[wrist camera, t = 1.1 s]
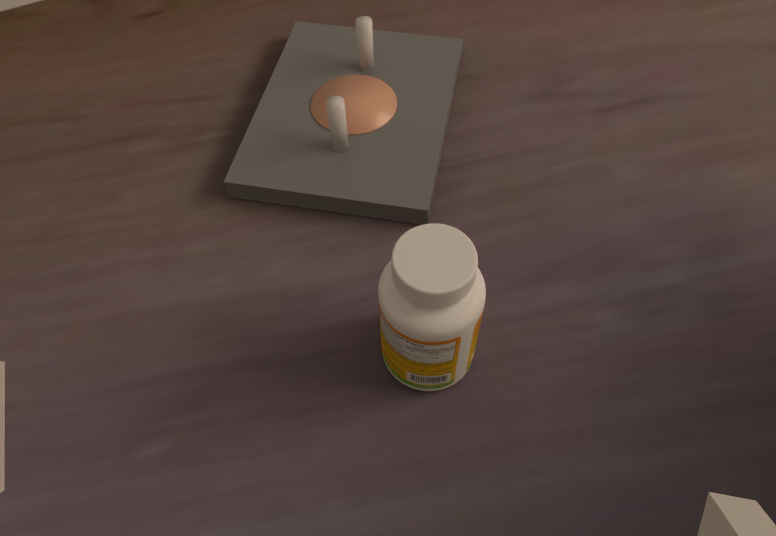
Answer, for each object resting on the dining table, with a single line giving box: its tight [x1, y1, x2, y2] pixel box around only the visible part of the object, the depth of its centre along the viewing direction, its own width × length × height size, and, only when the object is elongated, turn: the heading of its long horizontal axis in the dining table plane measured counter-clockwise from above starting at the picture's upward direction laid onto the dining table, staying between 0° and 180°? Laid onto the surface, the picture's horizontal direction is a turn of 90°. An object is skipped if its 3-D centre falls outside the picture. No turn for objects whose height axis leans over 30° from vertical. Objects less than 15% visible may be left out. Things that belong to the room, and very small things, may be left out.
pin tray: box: [224, 16, 463, 225], centre depth 45 cm, size 14×18×6 cm
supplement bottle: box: [378, 224, 486, 391], centre depth 33 cm, size 5×5×10 cm
